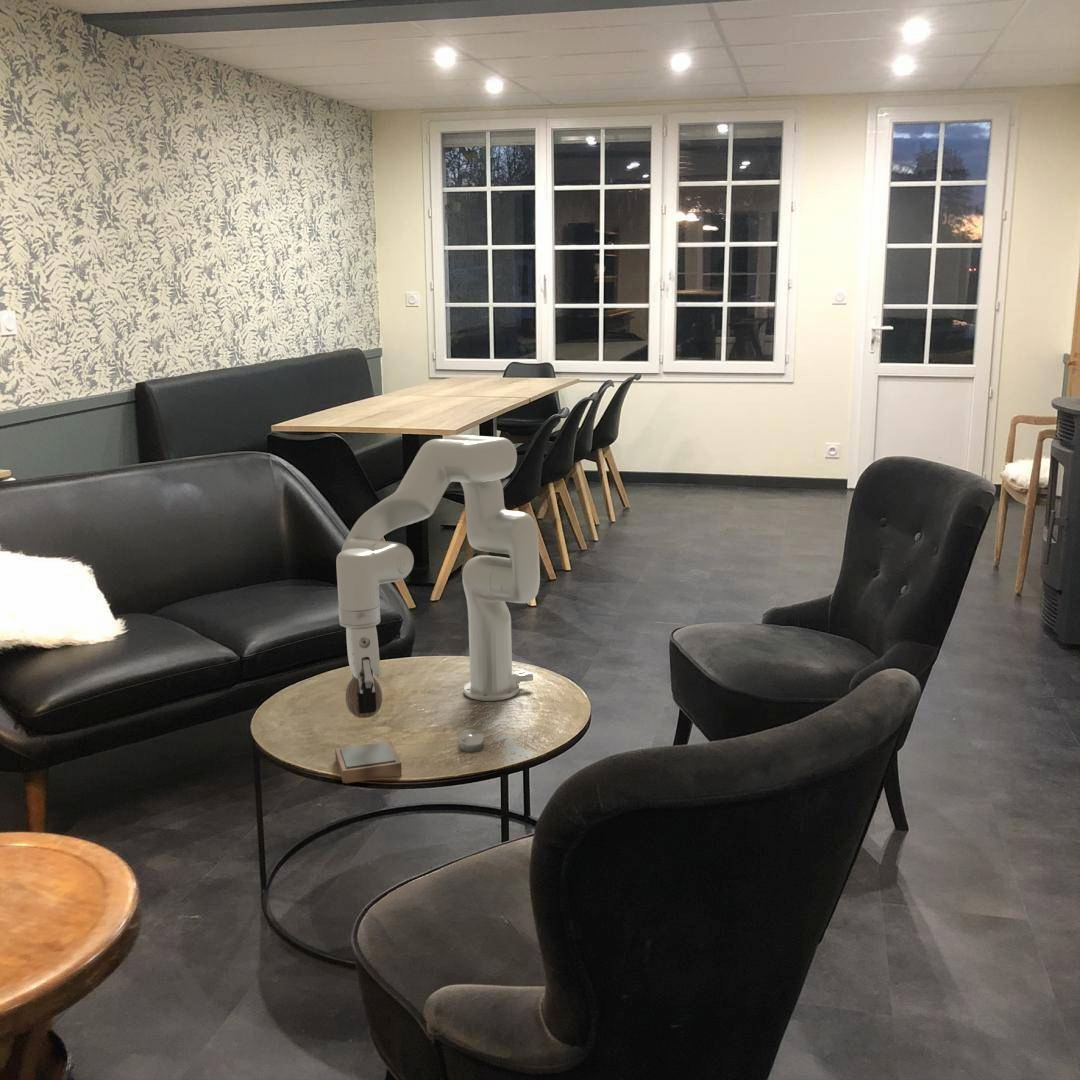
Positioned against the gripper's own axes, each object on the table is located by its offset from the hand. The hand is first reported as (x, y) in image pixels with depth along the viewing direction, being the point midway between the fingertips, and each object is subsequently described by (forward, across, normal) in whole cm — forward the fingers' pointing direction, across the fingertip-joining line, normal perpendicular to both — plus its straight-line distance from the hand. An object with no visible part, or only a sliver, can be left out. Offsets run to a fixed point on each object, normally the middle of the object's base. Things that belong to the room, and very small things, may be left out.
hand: (364, 704), depth 211 cm
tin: (+13, +3, -21) cm, 25 cm away
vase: (+2, 0, 0) cm, 2 cm away
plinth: (+13, 0, 0) cm, 13 cm away
